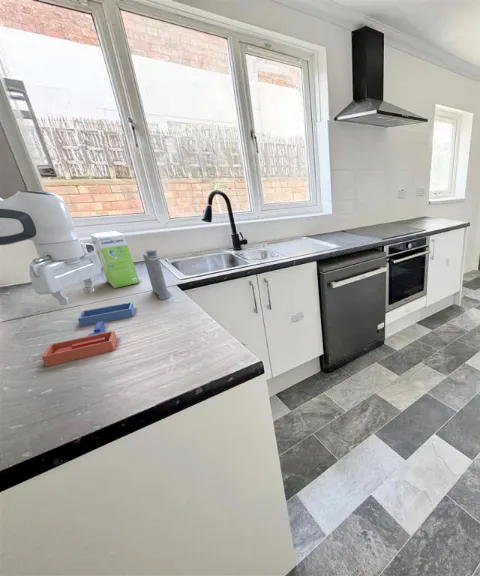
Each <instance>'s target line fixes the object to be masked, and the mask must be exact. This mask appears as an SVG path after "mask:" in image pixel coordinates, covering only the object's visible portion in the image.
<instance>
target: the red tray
mask: <svg viewBox="0 0 480 576" xmlns="http://www.w3.org/2000/svg"><path fill="white" fill-rule="evenodd" d="M117 337H118V336H117V334H116V332H115V330H111V331H105V333H101V334H96V335H92V336H88V335H87V336H82V337H78V338H73V339H69V340H68V339H67V340H64V341H60V342H55V343H50V344H49V346H48V347H47V349H46V350H45V352H44V353H43V354H42V356H41V358H42V361H43V363H44V366H45V367H50V366H54V365H55V366H56V365H59V364H63V363H66V362H70V361H71V362H72V361H75V360H80V359H83V358H87V357H91V356H96V355H100V354H105V353H109V352H113V351H115V349H116V344H117V341H118V338H117ZM100 338H105V340H106V342H102V343H98V344H93V345H89V346H85V347H80V348H76V349H71V350H67V351H62V352H58V353H54V352H55V351H56V350H58V349H61V348H64V347H68V346H72V345H73V344H77V343H81V342H86V341H90V340H95V339H100Z"/></svg>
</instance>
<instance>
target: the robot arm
mask: <svg viewBox="0 0 480 576" xmlns="http://www.w3.org/2000/svg"><path fill="white" fill-rule="evenodd" d="M23 241H31V242H32V243H33V245H34V248H35V250H36V253H37V256H38V257H37V258H33V259H32V261H31V263H30V265H29V277H30V281H31V285H32V288H33V291H34V292H35V293H36V294H37V295H40V296H41V295H42V296H43V295H44V296H45V295H51V296H52V297H53V298H55V299H56V300H57V301H58V303H59V305H60V306H68V305H69V304H72V300H71V297H68V296H66V295H65V292H66V291H65V289H68V288H70V287H72V286H75V285H77V284H79V283H82V282H84V287H83V291H84V294H93V293H94V292H95V288H94V285H95V278H94V277H96V276H98V275H100V274H102V271H103V268H102V265H101V262H100V260H99V257H98V254H97V251H96V247H95V245H94V243H88V242H82V241H81V240H80V237H79V236H78V235H77V233H76V231H75V222H74V219H73V217H72V214H71V211H70V210H69V208H68V206H67V202H65V200H64V198H62V197H61V196H60V195H58V194H56V193H54V192H49V191H44V190H34V189H33V190H30V189H21V190H18V191H17V192H16V193H14V194H13V195H12V196H9V197H7V198H3V197H1V196H0V246H9V245H10V246H11V245H14V244H17V243H19V242H23Z"/></svg>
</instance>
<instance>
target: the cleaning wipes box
mask: <svg viewBox="0 0 480 576" xmlns="http://www.w3.org/2000/svg"><path fill="white" fill-rule="evenodd" d="M90 238H91V240H92V244H94V245H95V247H96V251H95V252H96V254H97V256H98V258H99V261H100V264H101V268H102V271H103V273H104V277H105V279H106V282H107V283H108V284H109V285H111V286H112V287H113V288H114V289H117V288H121V287H122V288H123V287H127V286H130V285H135V284H139V283H140V279H139V275H138V273H137V270H136V267H135V264H134V261H133V258H132V255H131V252H130V249H129V246H128V242H127V239H126V236H125V234H123V233H121V232H118V231H116V230H114V231H113V230H112V231H105V232H97V233H91V234H90Z"/></svg>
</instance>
